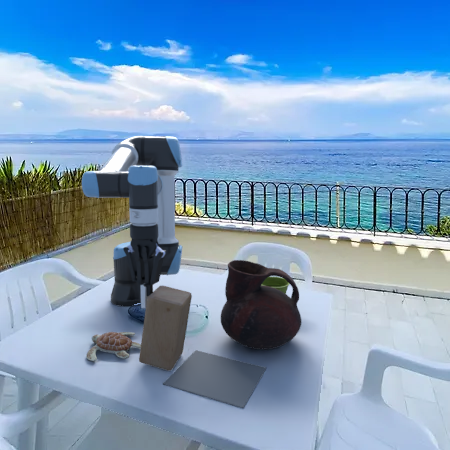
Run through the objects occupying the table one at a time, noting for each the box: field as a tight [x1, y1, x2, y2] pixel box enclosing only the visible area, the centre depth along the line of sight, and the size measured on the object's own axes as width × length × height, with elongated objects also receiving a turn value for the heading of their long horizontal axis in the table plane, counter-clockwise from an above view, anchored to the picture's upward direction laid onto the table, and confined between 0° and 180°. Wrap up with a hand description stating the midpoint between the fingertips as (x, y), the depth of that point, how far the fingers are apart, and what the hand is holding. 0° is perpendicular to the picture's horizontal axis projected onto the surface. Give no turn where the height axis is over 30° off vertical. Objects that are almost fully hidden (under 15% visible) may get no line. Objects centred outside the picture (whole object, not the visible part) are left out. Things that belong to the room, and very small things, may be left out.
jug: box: [220, 259, 302, 350], centre depth 115 cm, size 25×25×25 cm
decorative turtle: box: [85, 331, 141, 362], centre depth 112 cm, size 18×17×5 cm
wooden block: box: [138, 285, 193, 371], centre depth 103 cm, size 10×10×20 cm
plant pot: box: [261, 276, 290, 295], centre depth 140 cm, size 12×12×11 cm
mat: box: [162, 349, 267, 409], centre depth 98 cm, size 18×22×1 cm
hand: (146, 306), depth 104 cm, fingers closed
